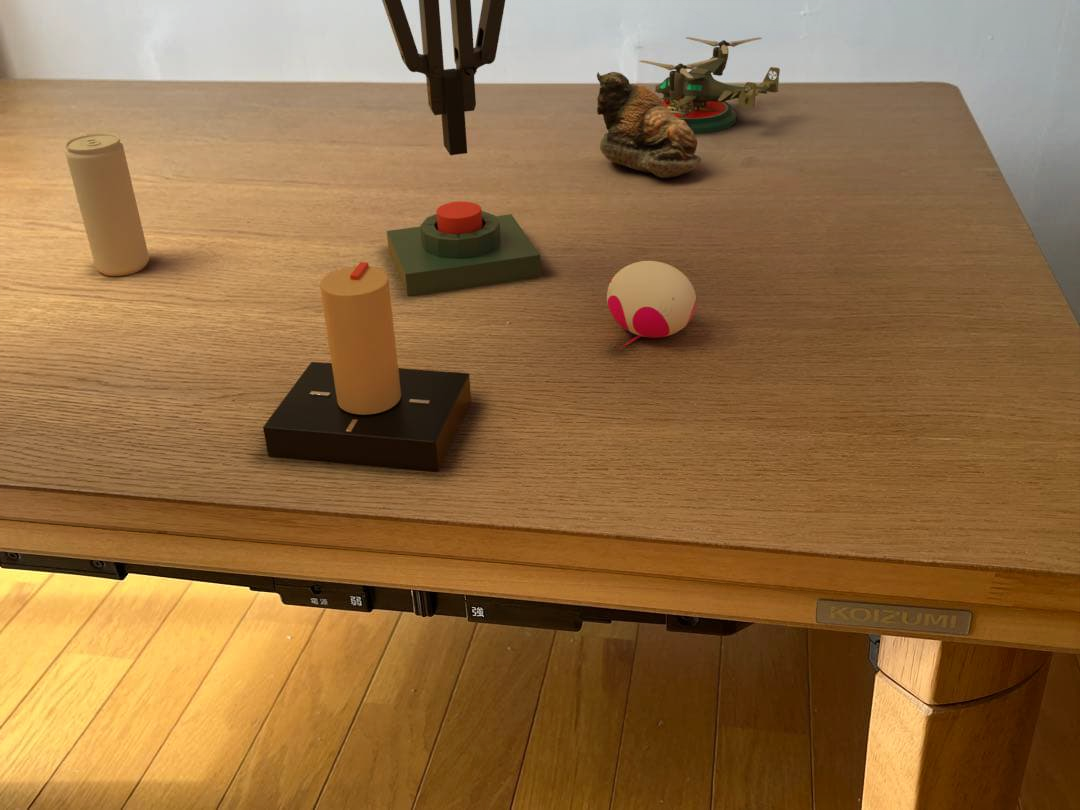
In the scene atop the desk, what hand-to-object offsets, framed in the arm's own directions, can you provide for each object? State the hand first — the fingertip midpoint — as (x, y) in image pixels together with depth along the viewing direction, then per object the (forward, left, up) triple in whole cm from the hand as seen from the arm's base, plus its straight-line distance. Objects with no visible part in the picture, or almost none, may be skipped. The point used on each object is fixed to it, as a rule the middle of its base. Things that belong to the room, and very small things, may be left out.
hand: (455, 149), depth 95 cm
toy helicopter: (+37, +30, -11) cm, 49 cm away
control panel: (-12, -25, -11) cm, 30 cm away
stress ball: (+11, -18, -11) cm, 24 cm away
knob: (-12, -25, -8) cm, 29 cm away
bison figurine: (+24, +17, -11) cm, 31 cm away
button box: (0, 0, -11) cm, 11 cm away
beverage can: (-30, +10, -11) cm, 34 cm away
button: (0, 0, -7) cm, 7 cm away
